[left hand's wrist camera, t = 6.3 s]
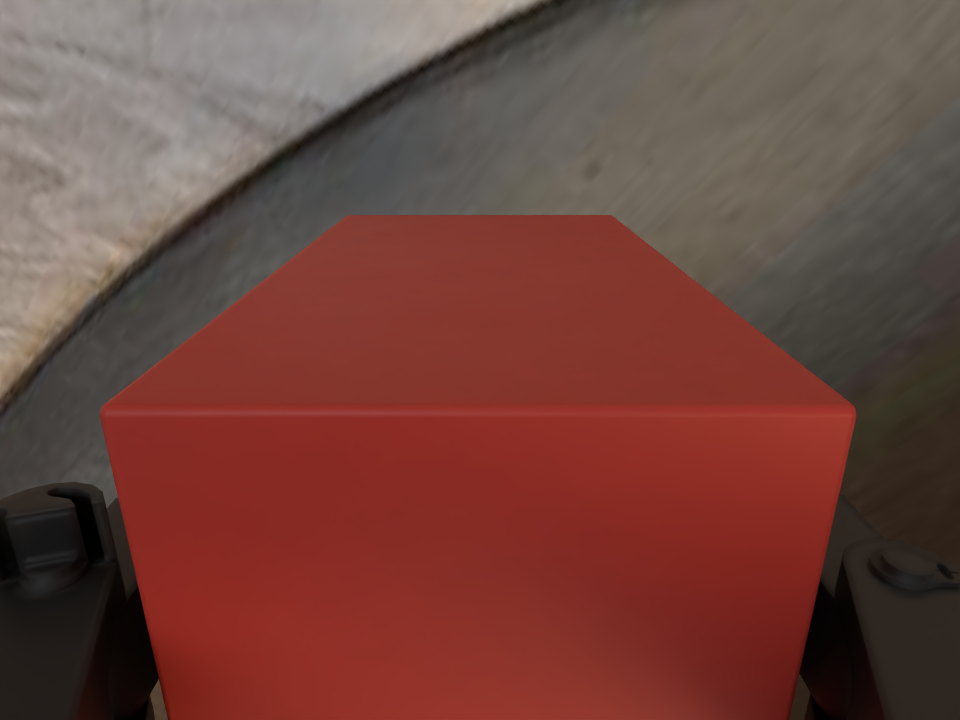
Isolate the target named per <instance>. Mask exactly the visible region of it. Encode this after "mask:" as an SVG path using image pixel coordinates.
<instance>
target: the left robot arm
mask: <svg viewBox="0 0 960 720" xmlns="http://www.w3.org/2000/svg"><path fill="white" fill-rule="evenodd" d="M799 673H800V675H801V677H802V678H803V680H804V682H805V684H806V685H807V687H808V689H809V691H810V692H811V693H810V697H809V702H808V706H807V710H806V714H805V719H804V720H960V570H959V569H958V568H956V567H955V566H953V565H952V564H950V563H949V562H947V561H946V560H944V559H943V558H942V557H940V556H938V555H936V554H933V553H931V552H929V551H927V550H925V549H922V548H920V547H918V546H915V545H911V544H907V543H904V542H900V541H896V540H891V539H884V538H883V537H882V536H881V535H880V534H879V533H878V532H877V530H876V529H875V528H874V527H873V526H872V525H871V524H870V523H869V522H868V521H867V520H866V519H865V518H864V517H863V516H862V515H861V514H860V513H859V511H858V510H857V509H856V508H855V507H854V506H853V505H852V504H851V503H850V502H849V501H848V500H847V499H846V498H845V497H844V496H840V492H839V496H838V501H837V505H836V510H835V514H834V519H833V523H832V528H831V532H830V537H829V541H828V546H827V550H826V555H825V559H824V564H823V568H822V573H821V577H820V582H819V586H818V591H817V595H816V600H815V604H814V609H813V613H812V618H811V622H810V627H809V631H808V636H807V640H806V645H805V649H804V654H803V658H802V663H801V667H800V672H799ZM158 679H159V677H158V672H157V668H156V663H155V659H154V654H153V650H152V645H151V641H150V636H149V632H148V628H147V623H146V619H145V614H144V610H143V605H142V601H141V596H140V592H139V587H138V583H137V579H136V574H135V570H134V565H133V561H132V556H131V552H130V547H129V543H128V538H127V534H126V530H125V525H124V521H123V516H122V512H121V507H120V503H119V498H116V499H115V500H114V501H113V502H112V503H111V505H110V506H109V507H108V508H107V509H106V505H105V500H104V496H103V492H102V491H101V490H99V489H98V488H96V487H95V486H93V485H90V484H84V483H78V482H69V483H54V484H49V485H44V486H40V487H35V488H31V489H27V490H24V491H22V492H19V493H16V494H14V495H11V496H9V497H6V498H3V499H2V500H0V720H155V718H154V711H153V706H152V702H151V697H150V693H151V692H152V690H153V688H154V686H155V685H156V683H157V681H158Z"/></svg>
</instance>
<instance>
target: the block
mask: <svg viewBox="0 0 960 720" xmlns="http://www.w3.org/2000/svg"><path fill="white" fill-rule="evenodd" d="M100 418H101V423H102V427H103V432H104V436H105V440H106V445H107V449H108V454H109V458H110V463H111V467H112V472H113V476H114V481H115V485H116V489H117V494H118V498H119V503H120V507H121V512H122V516H123V521H124V525H125V530H126V534H127V538H128V543H129V547H130V552H131V556H132V561H133V565H134V570H135V574H136V579H137V583H138V587H139V592H140V596H141V601H142V605H143V610H144V614H145V619H146V623H147V628H148V632H149V636H150V641H151V645H152V650H153V654H154V659H155V663H156V668H157V672H158V677H159V681H160V685H161V690H162V694H163V699H164V703H165V708H166V712H167V717H168V720H789V717H790V712H791V708H792V703H793V699H794V694H795V690H796V685H797V681H798V676H799V672H800V667H801V663H802V658H803V654H804V649H805V645H806V640H807V636H808V631H809V627H810V622H811V618H812V613H813V609H814V604H815V600H816V595H817V591H818V586H819V582H820V577H821V573H822V568H823V564H824V559H825V555H826V550H827V546H828V541H829V537H830V532H831V528H832V523H833V519H834V514H835V510H836V505H837V501H838V496H839V492H840V487H841V483H842V478H843V474H844V469H845V465H846V460H847V456H848V451H849V447H850V442H851V438H852V433H853V429H854V424H855V420H856V411H855V408H854V405H852V404H851V403H850V402H848V401H847V400H846V399H845V398H843V397H842V396H841V395H840V394H838V393H837V392H836V391H834V390H833V389H832V388H831V387H829V386H828V385H827V384H826V383H824V382H823V381H822V380H820V379H819V378H818V377H817V376H815V375H814V374H813V373H812V372H810V371H809V370H808V369H806V368H805V367H804V366H803V365H801V364H800V363H799V362H798V361H796V360H795V359H794V358H792V357H791V356H790V355H789V354H787V353H786V352H785V351H784V350H782V349H781V348H780V347H778V346H777V345H776V344H775V343H773V342H772V341H771V340H770V339H768V338H767V337H766V336H764V335H763V334H762V333H761V332H759V331H758V330H757V329H756V328H754V327H753V326H752V325H750V324H749V323H748V322H747V321H745V320H744V319H743V318H742V317H740V316H739V315H738V314H736V313H735V312H734V311H733V310H731V309H730V308H729V307H728V306H726V305H725V304H724V303H722V302H721V301H720V300H719V299H717V298H716V297H715V296H714V295H712V294H711V293H710V292H708V291H707V290H706V289H705V288H703V287H702V286H701V285H699V284H698V283H697V282H696V281H694V280H693V279H692V278H691V277H689V276H688V275H687V274H685V273H684V272H683V271H682V270H680V269H679V268H678V267H677V266H675V265H674V264H673V263H671V262H670V261H669V260H668V259H666V258H665V257H664V256H663V255H661V254H660V253H659V252H657V251H656V250H655V249H654V248H652V247H651V246H650V245H649V244H647V243H646V242H645V241H643V240H642V239H641V238H640V237H638V236H637V235H636V234H635V233H633V232H632V231H631V230H629V229H628V228H627V227H626V226H624V225H623V224H622V223H621V222H619V221H618V220H617V219H615V218H614V217H613V216H611V215H348V216H346V217H344V218H343V219H342V220H341V221H339V222H338V223H337V224H335V225H334V226H333V227H332V228H330V229H329V230H328V231H326V232H325V233H324V234H323V235H321V236H320V237H319V238H317V239H316V240H315V241H314V242H312V243H311V244H310V245H308V246H307V247H306V248H305V249H303V250H302V251H301V252H299V253H298V254H297V255H296V256H294V257H293V258H292V259H290V260H289V261H288V262H287V263H285V264H284V265H283V266H281V267H280V268H279V269H278V270H276V271H275V272H274V273H272V274H271V275H270V276H269V277H267V278H266V279H265V280H263V281H262V282H261V283H260V284H258V285H257V286H256V287H254V288H253V289H252V290H251V291H249V292H248V293H247V294H245V295H244V296H243V297H242V298H240V299H239V300H238V301H236V302H235V303H234V304H233V305H231V306H230V307H229V308H227V309H226V310H225V311H224V312H222V313H221V314H220V315H219V316H217V317H216V318H215V319H213V320H212V321H211V322H210V323H208V324H207V325H206V326H204V327H203V328H202V329H201V330H199V331H198V332H197V333H195V334H194V335H193V336H192V337H190V338H189V339H188V340H186V341H185V342H184V343H183V344H181V345H180V346H179V347H177V348H176V349H175V350H174V351H172V352H171V353H170V354H168V355H167V356H166V357H165V358H163V359H162V360H161V361H159V362H158V363H157V364H156V365H154V366H153V367H152V368H150V369H149V370H148V371H147V372H145V373H144V374H143V375H141V376H140V377H139V378H138V379H136V380H135V381H134V382H132V383H131V384H130V385H129V386H127V387H126V388H125V389H123V390H122V391H121V392H120V393H118V394H117V395H116V396H114V397H113V398H112V399H111V400H109V401H108V402H107V403H105V404H104V405H103V406H102V409H101V413H100Z"/></svg>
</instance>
